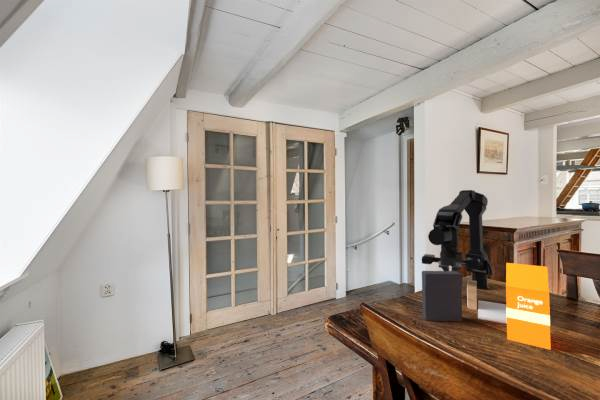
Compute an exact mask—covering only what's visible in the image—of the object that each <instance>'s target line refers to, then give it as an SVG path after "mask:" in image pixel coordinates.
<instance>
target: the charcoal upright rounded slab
mask: <svg viewBox="0 0 600 400" xmlns="http://www.w3.org/2000/svg"><path fill="white" fill-rule="evenodd" d="M462 288H463V274H462V273H460V272H459V271H458V270H457V271H452V270H449V271H443V270H422V271H421V296H422V297H421V299H422V300H421V302H422V317H423V318H424V320H425V321H428V322H429V321H433V322H434V321H435V322H437V321H438V322H462V321H463V301H462V300H463V297H462V296H463V295H462V293H463V292H462V290H463V289H462Z"/></svg>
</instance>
